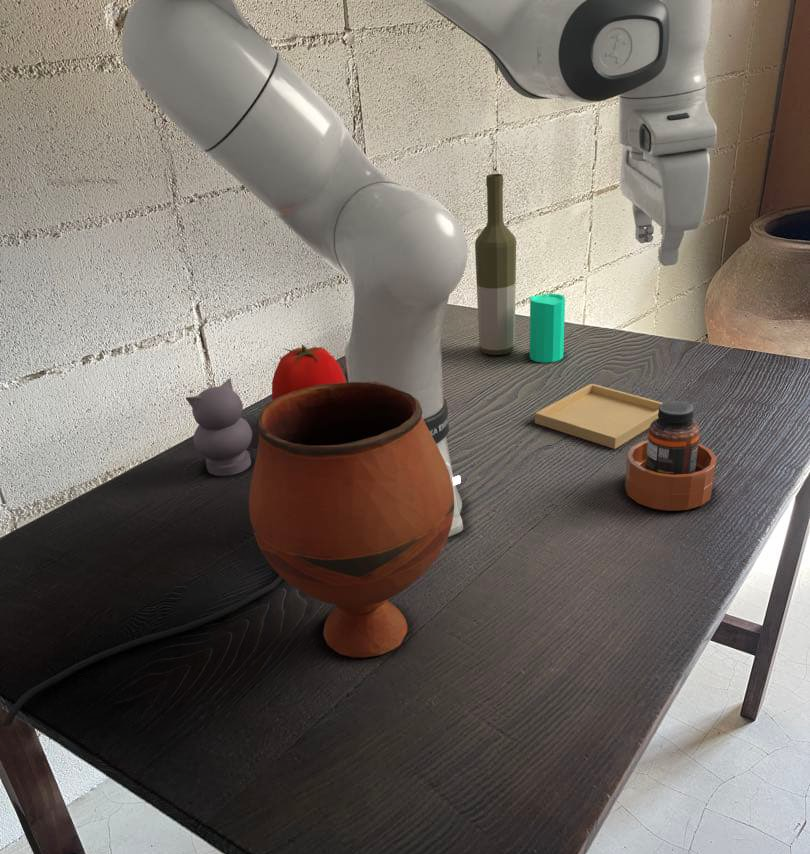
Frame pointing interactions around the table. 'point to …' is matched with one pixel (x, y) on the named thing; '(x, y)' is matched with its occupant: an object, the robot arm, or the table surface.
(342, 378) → the tomato
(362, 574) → the goblet
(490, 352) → the bottle
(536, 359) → the candle
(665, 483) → the bowl
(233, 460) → the cat figurine
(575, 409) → the tray
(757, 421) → the table surface
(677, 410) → the supplement bottle
